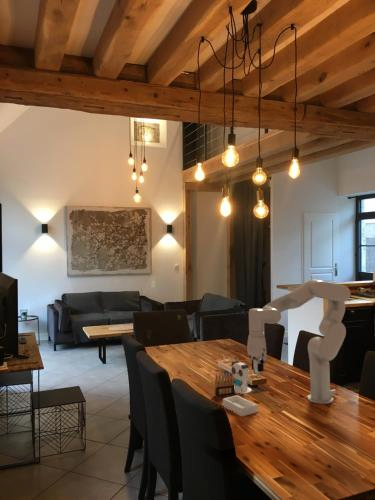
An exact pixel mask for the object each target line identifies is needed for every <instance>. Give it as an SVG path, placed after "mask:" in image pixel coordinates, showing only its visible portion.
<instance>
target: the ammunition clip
mask: <svg viewBox="0 0 375 500" xmlns="http://www.w3.org/2000/svg"><path fill="white" fill-rule="evenodd" d="M214 377H215V381H214V382H215V383H214V396H215V395H216V396H220V397H226V395H228V396H236V393H235V388H234V387H235V383H234V377H233V372H232V371H231V373H230V372H228V373H227V372H225V374H224V372H222V374H221V373H219V374H218V373H215V376H214ZM216 396H215V397H216Z"/></svg>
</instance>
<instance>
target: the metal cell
mask: <svg viewBox="0 0 375 500" xmlns="http://www.w3.org/2000/svg"><path fill="white" fill-rule="evenodd" d="M260 360H261V358H260ZM258 364H259V363H258V358H254V359H253V366H254V370H253V374H254V375H256V376H258V375H259V376H261V375H262V374H263V371H261V372H258Z"/></svg>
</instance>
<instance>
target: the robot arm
mask: <svg viewBox="0 0 375 500" xmlns="http://www.w3.org/2000/svg"><path fill="white" fill-rule="evenodd" d="M350 297H351V290H350V289H349V287H348V286H346V285H345V284H339V283H333V282H329V281H325V280H321V279H315V278H314V279H309V280H307V281H306V282H304V283H302V284H301V285H299V286H298V287H297V288H296V287H295V289H294V290H292V291H290V292H289V293H286V294H284V295H282V296H278V298H276V299H274V300H272V301H270V302H269V303H267V304H266V305H264V306H263V307H262V308H259V307H256V308H255V307H254V308H250V309H249V310H248V331H249V332H248V337H247V346H246V347H247V349H246V351H247V355H248V356H249V358H250V361H251V370H252V371H254V366H253V359H254V358H258V363H259V364H258V372H261V371H262V372H264V371H265V369H264V364H265V362H266V361H267V360H268V356H267V342H266V337H265V335H266V334H265V324H271V325H273V324H277V323H278V322H280V321H281V320H282V314H281V313H282V312H284V311H287V310H294V309H298V308H300V307H302V306H304V305H305V304H306V303H308V302H310V301H312V299H314V298H318V299H319V298H320V299H324V300H327V303H328V304H327V308H326V311H325V313H324V315H323V317H322V319H321V320H320V321H321V322H320V324H319V326H318V332H319V333H320V334H321V335H322V336H323V337H320V336H314V337H311V338H310V339H309V340H308V343H307V352H308V358H309V359H308V360H309V376H310V377H309V379H310V381H309V383H310V393H309V394H308V395H307V400H308V401H309V402H311V403H314V404H319V405H327V404H331V403H333V402H334V396H332V395H335V394H337V390H336V389H335V388H334V389H331V383H330V381H331V380H330V379H331V377H330V368H331V367H330V361H333V360H334V358H336V356H337V355H338V353H339V351H340V349H341V348H342V345H343V342H344V340H345V338H346V335H347V329H346V326H345V324H343V323H342V320H343V318H344V315H345V313H346V304H345V302H347V301H348V300H349V299H350ZM260 359H261V360H260Z"/></svg>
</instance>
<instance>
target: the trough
mask: <svg viewBox="0 0 375 500" xmlns="http://www.w3.org/2000/svg"><path fill="white" fill-rule="evenodd" d="M222 405H223V406H224V407H223V406H222ZM221 406H222V407H223V408H225V409H227V410H229V411H230V410H231V412H232V411H233V413H234V414H236V415H238V416H240V417H245V416H249V415H252V414H255V413H259V409H258V404H257V403H254V402H252V401H250V400H248V399H246V398H244V397H242V396H240V395H236V394H235V395H231V396H227V397H224V398H222V403H221Z"/></svg>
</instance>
